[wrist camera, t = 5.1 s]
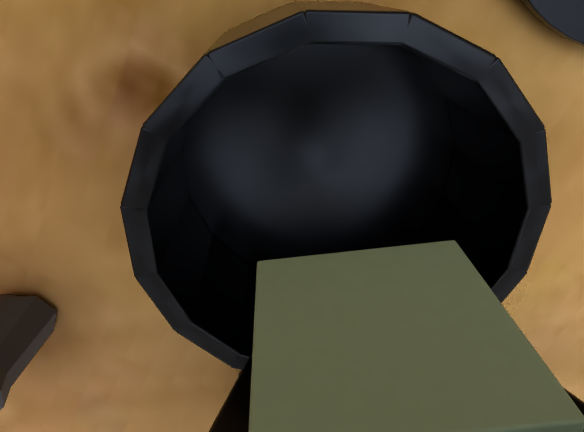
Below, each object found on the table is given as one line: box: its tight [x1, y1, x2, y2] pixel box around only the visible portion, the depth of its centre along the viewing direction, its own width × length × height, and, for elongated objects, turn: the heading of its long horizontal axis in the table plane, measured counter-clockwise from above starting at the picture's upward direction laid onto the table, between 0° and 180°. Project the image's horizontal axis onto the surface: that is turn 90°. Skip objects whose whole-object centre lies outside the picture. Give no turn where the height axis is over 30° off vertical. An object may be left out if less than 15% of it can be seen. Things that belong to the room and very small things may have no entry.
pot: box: [120, 1, 552, 370], centre depth 16 cm, size 14×14×6 cm
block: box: [249, 240, 584, 432], centre depth 8 cm, size 4×4×4 cm
